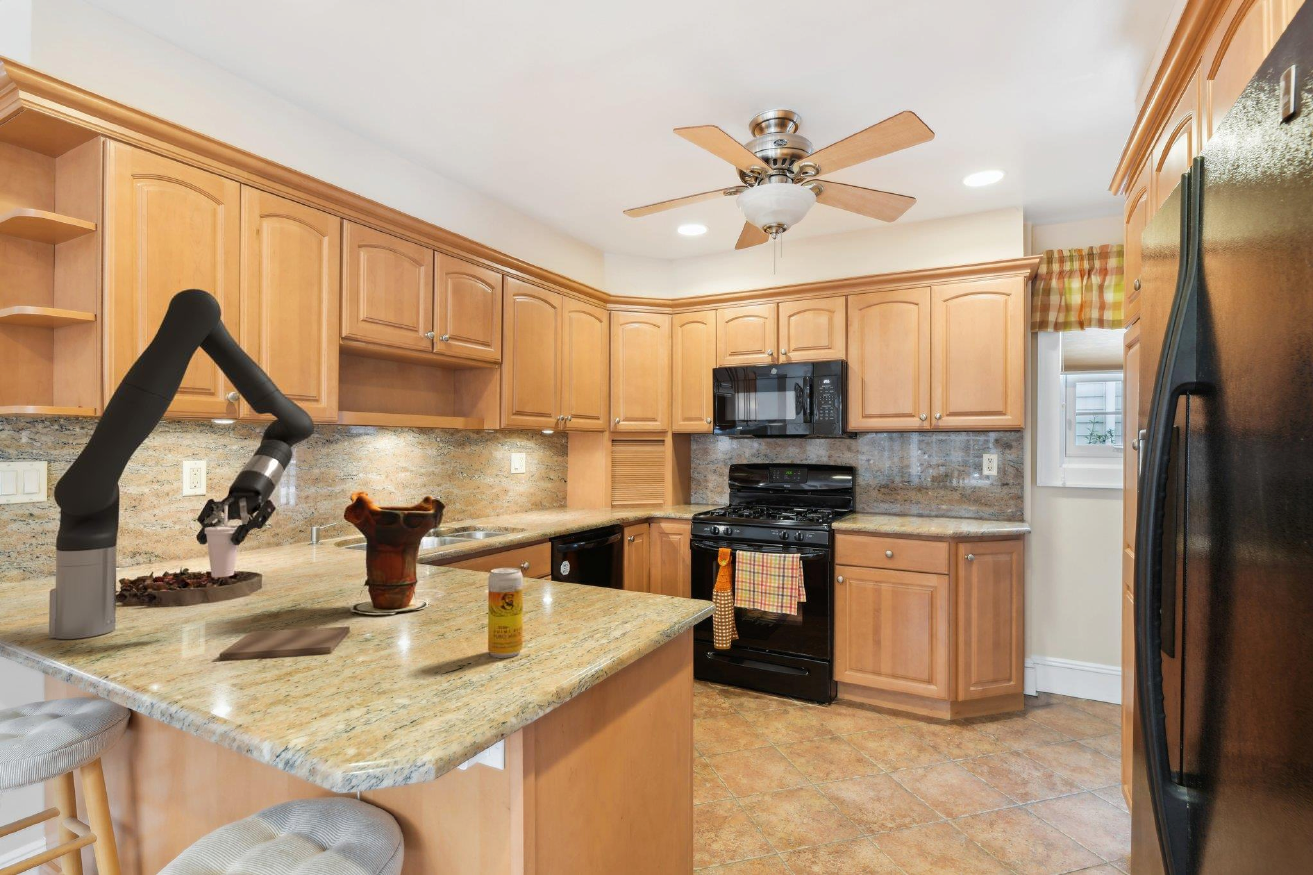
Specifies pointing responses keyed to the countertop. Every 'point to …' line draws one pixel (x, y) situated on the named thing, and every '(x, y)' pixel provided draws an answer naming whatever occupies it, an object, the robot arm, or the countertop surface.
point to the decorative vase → (392, 550)
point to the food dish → (186, 588)
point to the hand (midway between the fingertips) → (217, 542)
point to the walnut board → (286, 643)
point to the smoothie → (221, 548)
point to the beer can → (505, 612)
